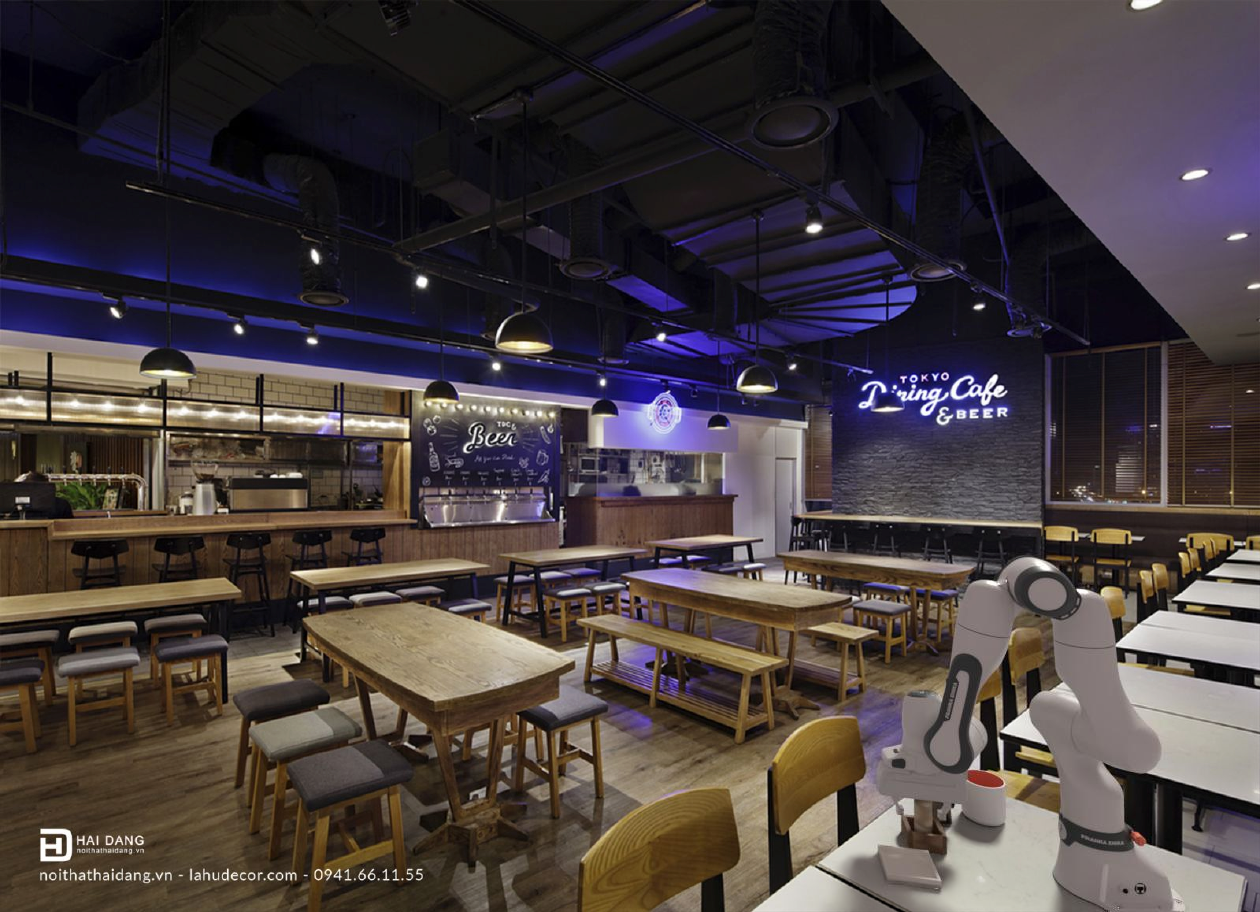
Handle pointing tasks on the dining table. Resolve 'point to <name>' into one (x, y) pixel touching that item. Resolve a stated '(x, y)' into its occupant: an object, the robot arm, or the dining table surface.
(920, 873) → the tray
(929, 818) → the dowel
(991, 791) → the cup
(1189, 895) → the dining table surface
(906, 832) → the holder
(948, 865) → the dining table surface
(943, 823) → the mug
